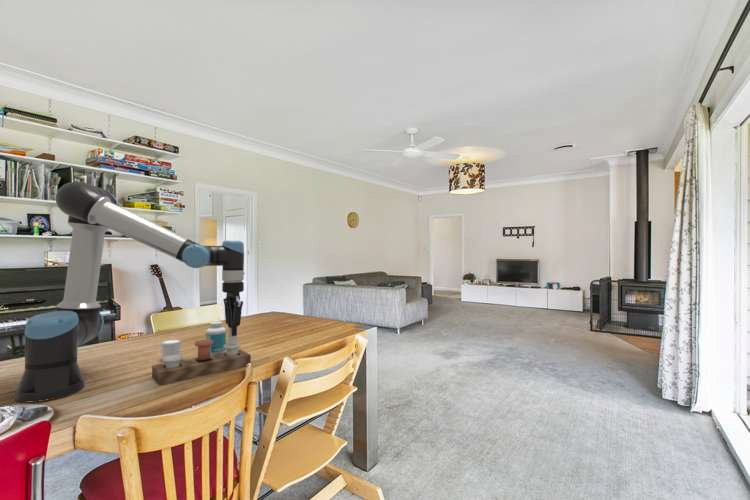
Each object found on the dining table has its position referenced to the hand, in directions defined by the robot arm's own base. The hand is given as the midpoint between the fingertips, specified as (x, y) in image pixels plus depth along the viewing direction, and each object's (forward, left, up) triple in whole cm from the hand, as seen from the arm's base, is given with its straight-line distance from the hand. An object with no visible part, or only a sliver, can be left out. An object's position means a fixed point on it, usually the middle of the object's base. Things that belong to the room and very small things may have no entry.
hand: (232, 343), depth 133 cm
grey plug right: (0, 0, -6) cm, 6 cm away
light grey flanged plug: (-15, +23, -8) cm, 29 cm away
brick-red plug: (-10, 0, -4) cm, 11 cm away
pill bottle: (0, +17, -8) cm, 19 cm away
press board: (-10, 0, -8) cm, 13 cm away
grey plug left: (-20, 0, -7) cm, 21 cm away
